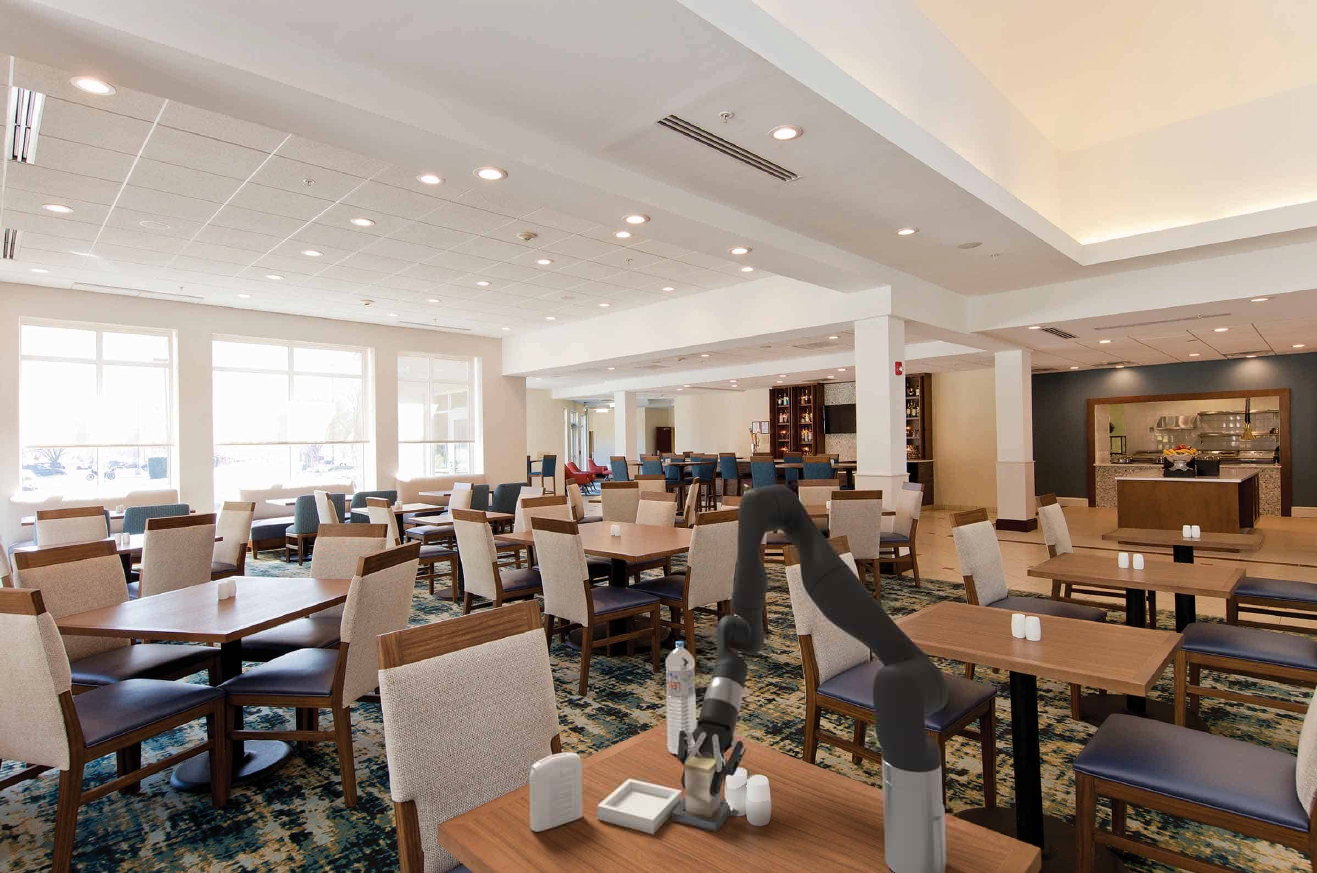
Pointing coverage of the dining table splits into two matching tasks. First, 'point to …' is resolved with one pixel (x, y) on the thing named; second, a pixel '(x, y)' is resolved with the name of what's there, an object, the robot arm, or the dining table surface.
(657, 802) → the tray
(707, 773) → the key block
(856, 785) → the dining table surface
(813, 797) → the dining table surface
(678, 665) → the water bottle
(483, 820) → the dining table surface
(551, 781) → the white rounded slab
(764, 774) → the dining table surface
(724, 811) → the plate
